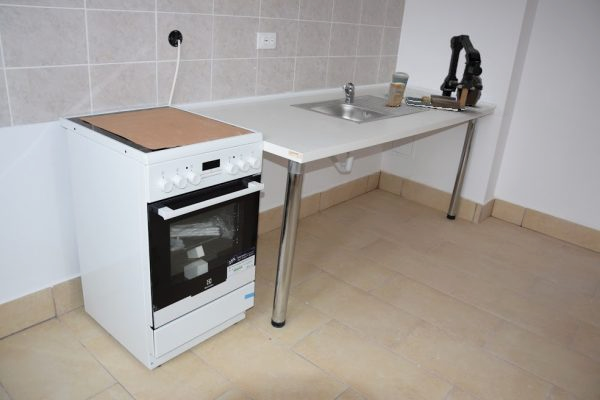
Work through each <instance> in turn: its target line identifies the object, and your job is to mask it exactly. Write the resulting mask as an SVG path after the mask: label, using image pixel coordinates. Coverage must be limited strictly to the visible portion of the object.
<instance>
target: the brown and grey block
mask: <svg viewBox="0 0 600 400" xmlns="http://www.w3.org/2000/svg"><path fill="white" fill-rule="evenodd" d="M467 93H468V89H467V88H462V92H461V98H460V99H459V102H460V107H459V109H465V110H466V105H465V102H466V97H467Z"/></svg>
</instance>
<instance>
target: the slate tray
mask: <svg viewBox="0 0 600 400" xmlns="http://www.w3.org/2000/svg"><path fill="white" fill-rule="evenodd" d="M421 98H422V97H413V96H405V99H404V100H406V101H407V103H408V104H414V105H425V106H433V105H434V104H429V103H421V102H413V101H421ZM409 100H413V101H409ZM406 101H405V102H406ZM407 103H406V104H407Z"/></svg>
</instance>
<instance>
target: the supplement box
mask: <svg viewBox="0 0 600 400" xmlns="http://www.w3.org/2000/svg"><path fill="white" fill-rule="evenodd" d="M404 89H405V90H406V88H405V84H403V83H392V82H390V83H389V89H388V95H387V100H386V106H389V107H391V106H392V107H391V108H393V106H396V107H398V106H397V105H401V106H402V103H403V98H404V94H405V91H404Z"/></svg>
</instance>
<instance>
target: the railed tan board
mask: <svg viewBox="0 0 600 400" xmlns="http://www.w3.org/2000/svg"><path fill="white" fill-rule="evenodd" d="M429 98H430V99H431V104H434V105H433V107H442V108H452V109H459V107H460V102H457V96H456V97H453V96H451V97H448V96H442V95H438V94H430V97H429Z"/></svg>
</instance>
